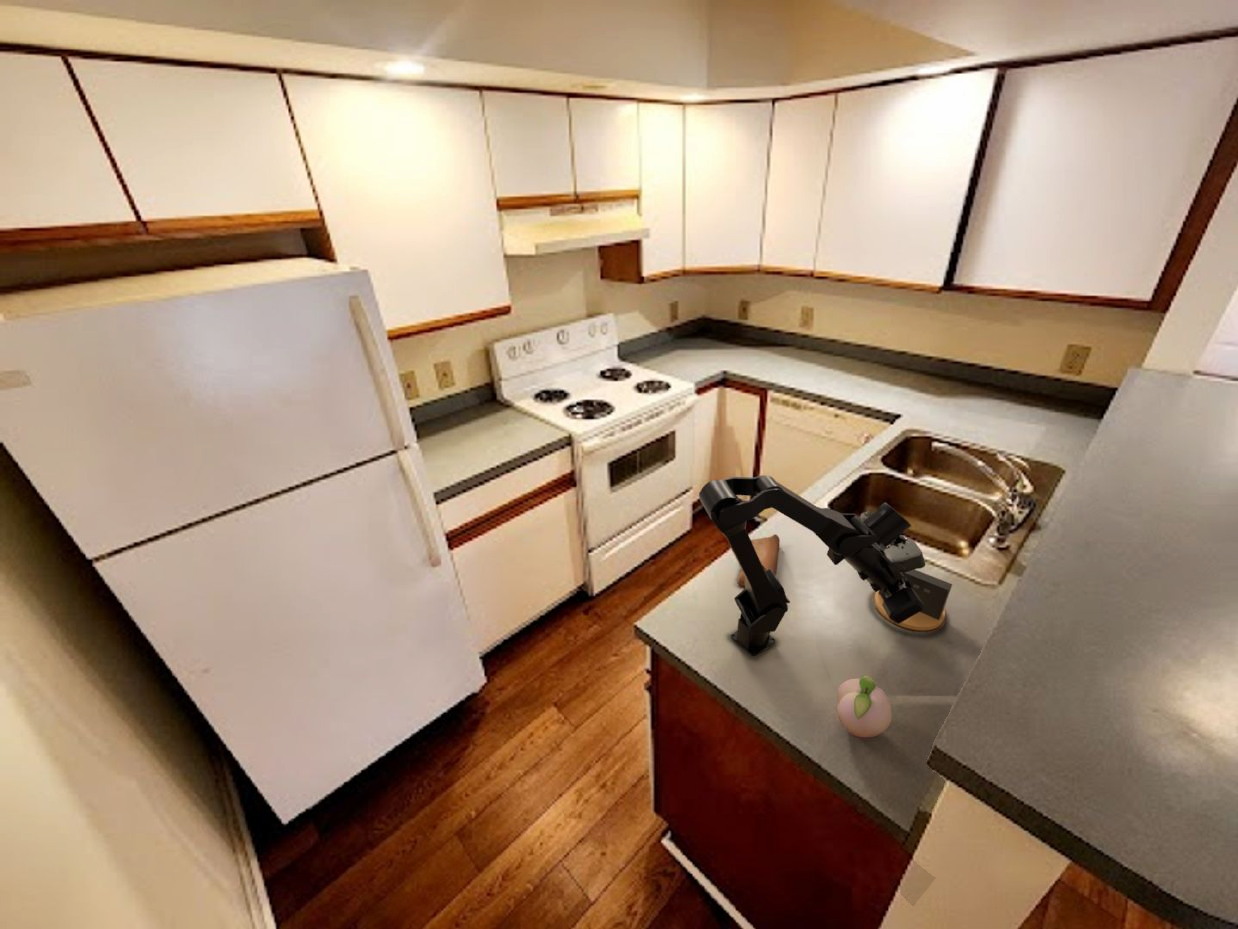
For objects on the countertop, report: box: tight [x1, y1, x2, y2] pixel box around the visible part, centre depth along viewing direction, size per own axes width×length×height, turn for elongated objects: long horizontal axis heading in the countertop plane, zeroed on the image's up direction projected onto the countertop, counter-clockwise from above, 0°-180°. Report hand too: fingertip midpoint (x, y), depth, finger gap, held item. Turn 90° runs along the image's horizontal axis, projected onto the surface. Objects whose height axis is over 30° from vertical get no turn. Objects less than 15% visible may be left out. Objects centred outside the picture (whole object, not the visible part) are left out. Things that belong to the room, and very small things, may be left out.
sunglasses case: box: [736, 533, 781, 588], centre depth 127 cm, size 18×7×7 cm
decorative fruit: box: [836, 675, 892, 738], centre depth 88 cm, size 9×8×10 cm
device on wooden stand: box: [874, 569, 953, 630], centre depth 111 cm, size 13×13×9 cm
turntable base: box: [871, 591, 947, 633], centre depth 113 cm, size 14×14×1 cm
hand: (911, 601), depth 107 cm, fingers closed
